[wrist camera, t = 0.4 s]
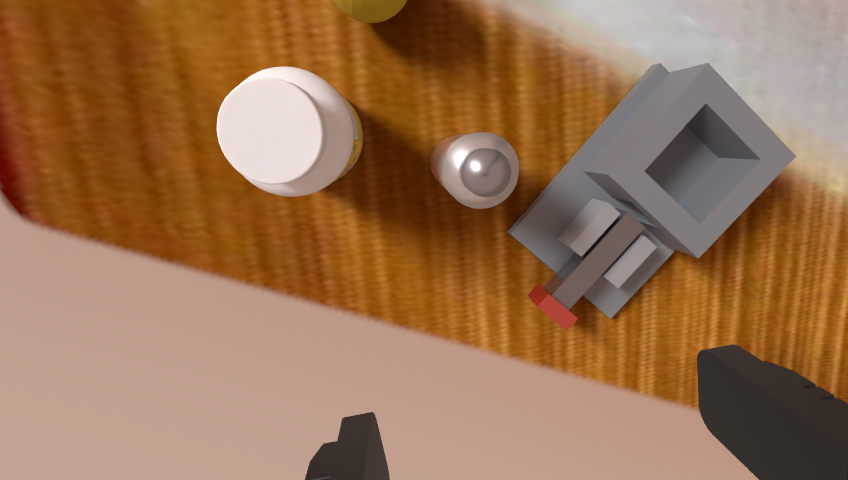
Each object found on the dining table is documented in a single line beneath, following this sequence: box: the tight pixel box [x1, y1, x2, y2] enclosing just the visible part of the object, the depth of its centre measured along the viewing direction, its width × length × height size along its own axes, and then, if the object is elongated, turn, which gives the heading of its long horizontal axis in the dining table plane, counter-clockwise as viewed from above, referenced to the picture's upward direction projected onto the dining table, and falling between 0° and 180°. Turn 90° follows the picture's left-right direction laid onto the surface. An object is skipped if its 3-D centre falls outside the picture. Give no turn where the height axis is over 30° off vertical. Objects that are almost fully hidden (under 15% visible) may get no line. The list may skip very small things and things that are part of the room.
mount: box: [507, 63, 796, 319], centre depth 32 cm, size 16×11×5 cm
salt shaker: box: [430, 132, 519, 209], centre depth 27 cm, size 4×4×12 cm
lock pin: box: [528, 208, 645, 330], centre depth 32 cm, size 9×3×2 cm, turn 140°
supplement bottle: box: [217, 67, 363, 196], centre depth 26 cm, size 7×7×13 cm
